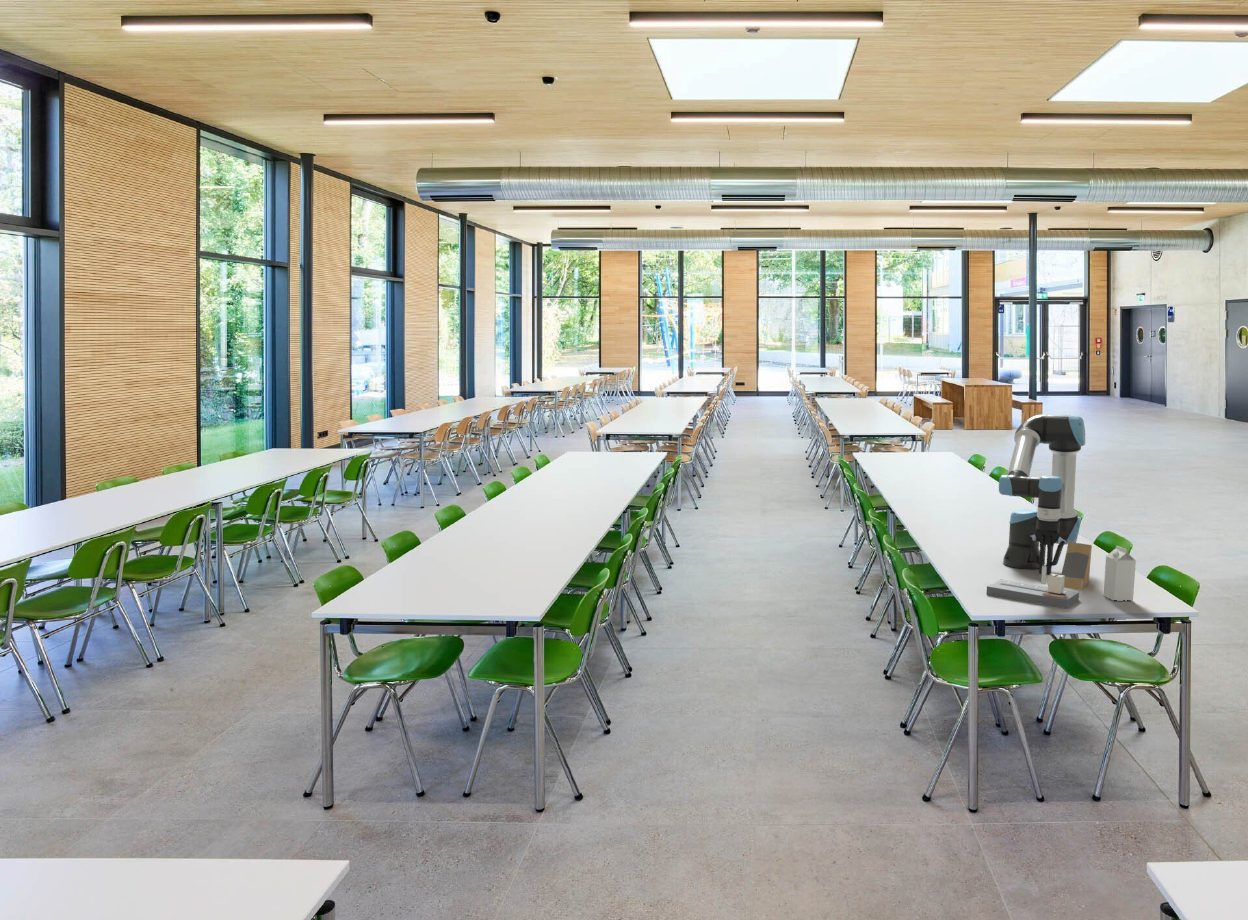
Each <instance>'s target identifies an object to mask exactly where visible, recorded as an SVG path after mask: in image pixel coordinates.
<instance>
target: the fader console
mask: <svg viewBox="0 0 1248 920" xmlns="http://www.w3.org/2000/svg"><path fill="white" fill-rule="evenodd" d="M986 595H989V596H990V595H991V596H994V597H995V596H996V597H1000V598H1004V599H1006V598H1007V599H1013V600H1018V601H1022V602H1028V603H1034V604H1039V605H1045V606H1051V607H1057V608H1062V609H1068V608H1070V607H1071V606H1073V605H1074V604H1075V603H1077V602H1078V601H1079V600H1080V592H1079V591H1076V590H1075V591H1072V590H1067V589H1064V592H1063V593H1061V594H1058V593H1052V592H1048V586H1043V585H1037V584H1032V583H1026V582H1022V581H1021V582H1019V581H1014V580H1008V579H1002V578H1001V579H999V580H996V581H994V582H993V583H990V584H988V585H987V586H986Z"/></svg>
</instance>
